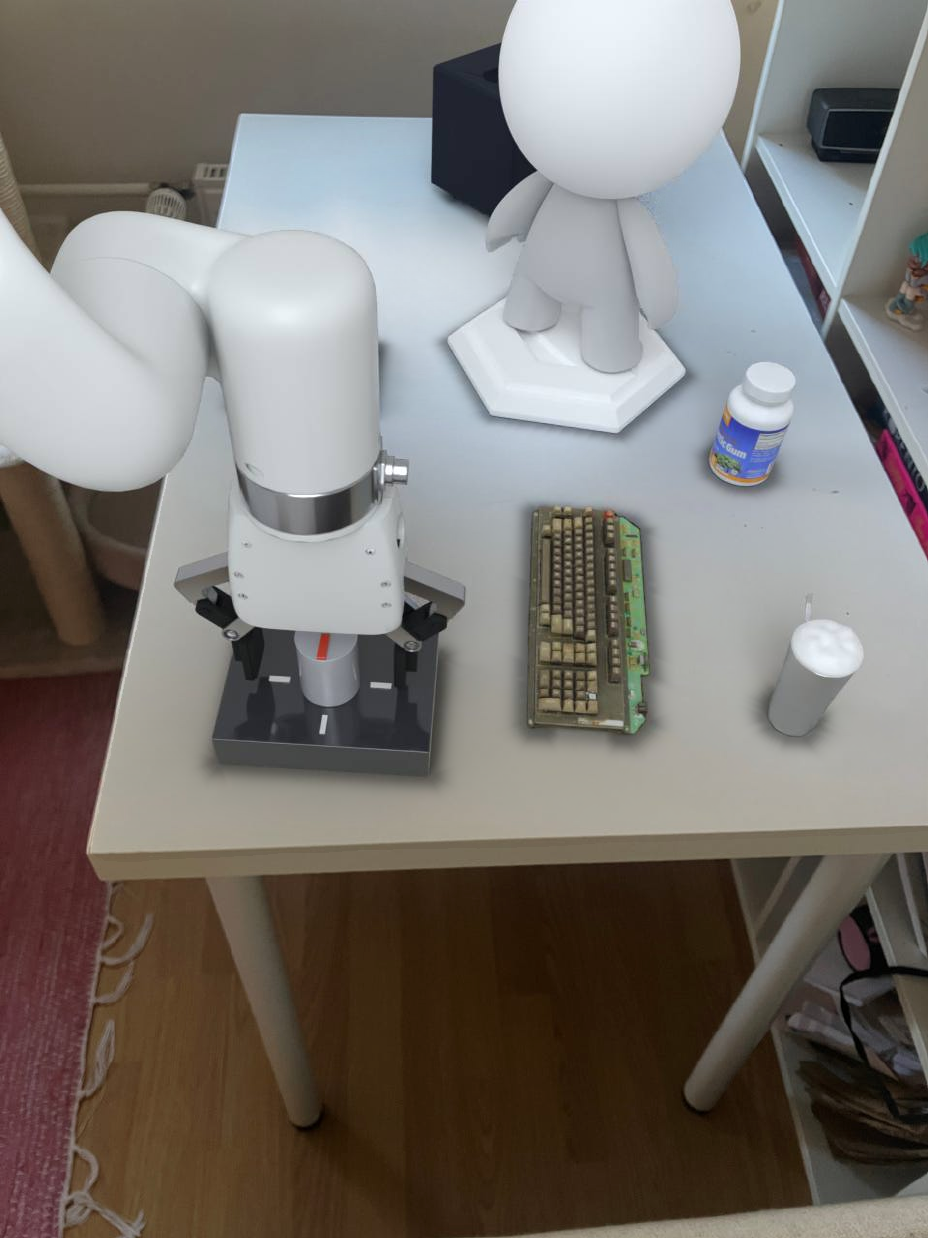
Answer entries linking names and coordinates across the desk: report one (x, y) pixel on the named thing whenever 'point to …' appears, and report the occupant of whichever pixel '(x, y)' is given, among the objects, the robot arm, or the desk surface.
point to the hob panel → (329, 713)
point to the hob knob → (328, 666)
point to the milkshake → (813, 673)
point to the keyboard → (586, 621)
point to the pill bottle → (753, 425)
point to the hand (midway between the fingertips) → (328, 667)
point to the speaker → (473, 132)
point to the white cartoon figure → (595, 202)
